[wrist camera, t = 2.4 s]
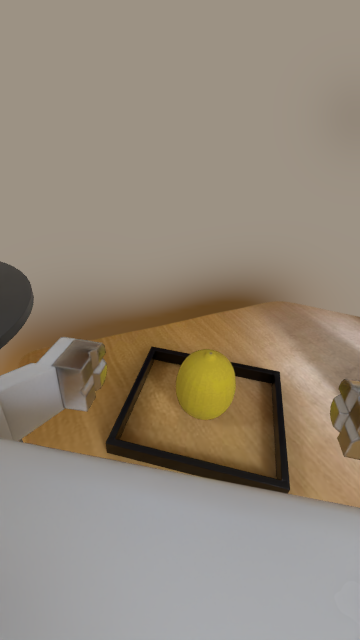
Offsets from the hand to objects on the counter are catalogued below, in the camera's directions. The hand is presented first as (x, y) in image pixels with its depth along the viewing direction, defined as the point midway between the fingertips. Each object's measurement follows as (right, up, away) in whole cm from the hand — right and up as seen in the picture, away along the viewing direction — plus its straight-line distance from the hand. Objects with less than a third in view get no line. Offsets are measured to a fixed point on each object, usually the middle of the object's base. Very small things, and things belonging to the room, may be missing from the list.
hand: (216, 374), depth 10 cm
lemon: (+1, -8, +20) cm, 21 cm away
